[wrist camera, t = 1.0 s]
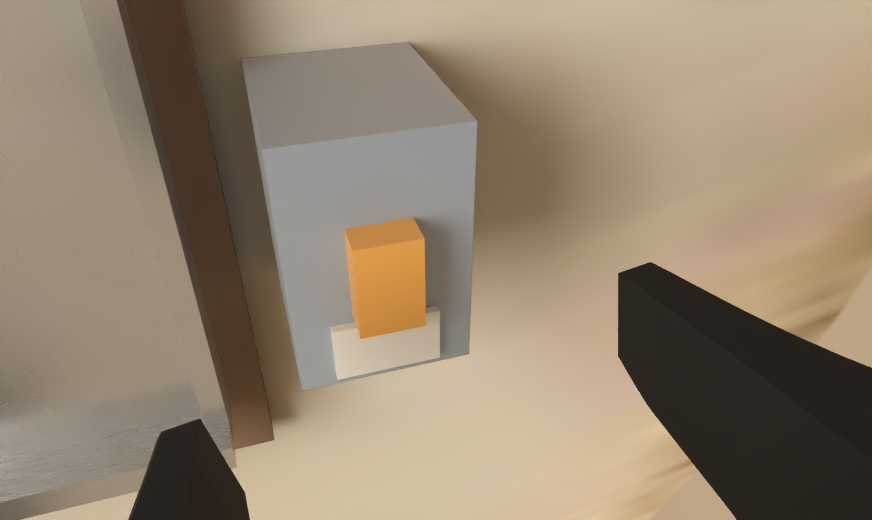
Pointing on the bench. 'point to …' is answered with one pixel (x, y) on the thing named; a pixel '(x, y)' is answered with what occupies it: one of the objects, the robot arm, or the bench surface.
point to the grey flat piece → (91, 266)
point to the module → (366, 207)
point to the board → (203, 207)
